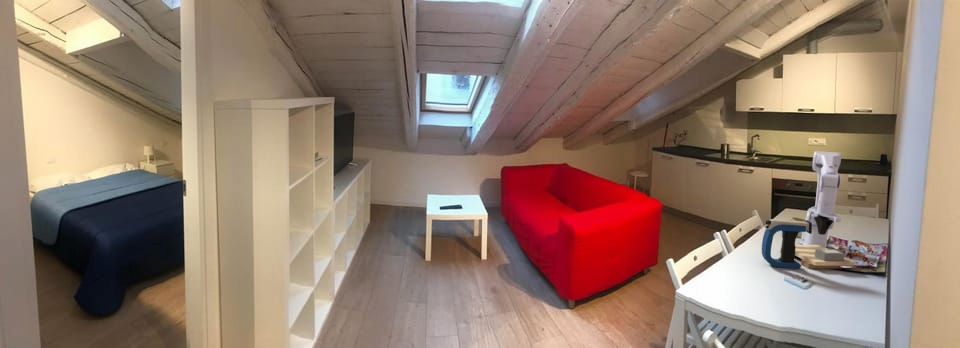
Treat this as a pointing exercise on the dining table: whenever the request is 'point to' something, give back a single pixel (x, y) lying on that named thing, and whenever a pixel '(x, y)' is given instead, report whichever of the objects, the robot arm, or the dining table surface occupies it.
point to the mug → (798, 220)
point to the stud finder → (829, 255)
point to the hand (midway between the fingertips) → (821, 234)
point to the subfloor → (813, 262)
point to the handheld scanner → (783, 241)
